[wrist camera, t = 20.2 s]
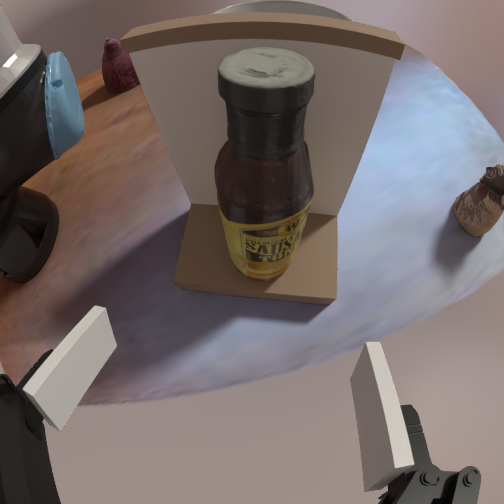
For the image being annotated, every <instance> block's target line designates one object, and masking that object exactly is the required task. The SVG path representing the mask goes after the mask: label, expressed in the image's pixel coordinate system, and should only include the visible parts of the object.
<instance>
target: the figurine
mask: <svg viewBox="0 0 504 504" xmlns="http://www.w3.org/2000/svg"><path fill="white" fill-rule="evenodd" d="M503 211H504V164H499V165H496V166H495V167H487V168H486V173H485V174H484V176H483V177H482V178H481V179H480V182H478V183H477V184H475V185H474V186H472V187H471V188H470V189H468V190H467V191H465V192H463V193H462V194H461V195H460V196H459V197H457V198H456V201H455V205H454V212H455V215H456V218H457V220H458V222H459V223H460V225H461V226H462V227H463V228H464V229H465V230H466V231H467V232H468V233H470V234H471V235H474V236H482V235H483V234H485V233H487V232H488V231H489V230H490V229H491V228H492V227H493V226H494V225H495V223H496V222H497V221H498V219H499V218H500V216H501V215H502V213H503Z"/></svg>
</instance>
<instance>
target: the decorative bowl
mask: <svg viewBox="0 0 504 504" xmlns="http://www.w3.org/2000/svg"><path fill="white" fill-rule="evenodd" d="M240 12H275V13H293V14H305V15H314V16H322V17H329V18H336V19H341V20H347V21H352V20H351V19H349V18H348V17H346V16H345V15H343V14H341V13H339V12H337V11H334V10H331V9H329V8H326V7H323V6H319V5H315V4H311V3H305V2H298V1H289V0H259V1H250V2H244V3H239V4H235V5H231V6H228V7H225V8H222V9H220V10H218V11H216V12H214V13H213V14H221V13H240ZM352 22H353V21H352Z"/></svg>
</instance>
